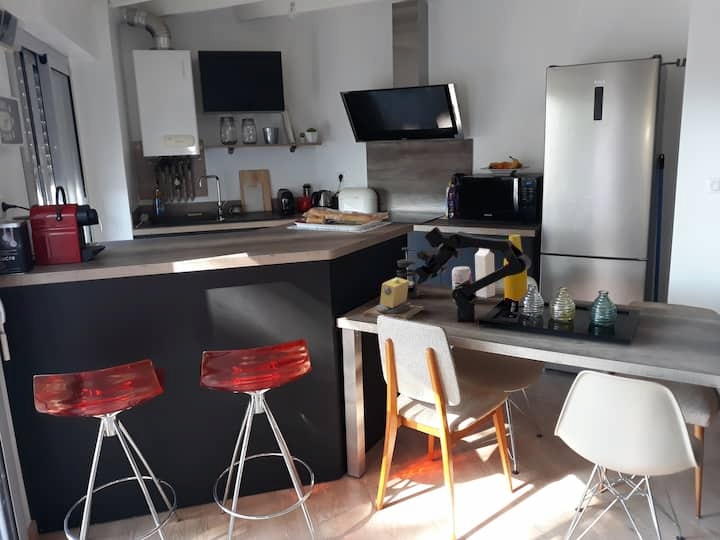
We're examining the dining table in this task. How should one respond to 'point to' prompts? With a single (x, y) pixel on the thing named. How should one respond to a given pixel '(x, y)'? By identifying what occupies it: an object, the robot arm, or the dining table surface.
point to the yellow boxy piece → (394, 292)
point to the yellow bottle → (515, 277)
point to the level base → (401, 315)
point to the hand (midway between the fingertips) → (418, 283)
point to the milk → (484, 271)
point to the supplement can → (460, 275)
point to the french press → (405, 263)
